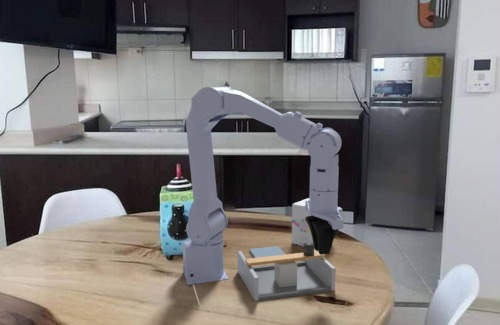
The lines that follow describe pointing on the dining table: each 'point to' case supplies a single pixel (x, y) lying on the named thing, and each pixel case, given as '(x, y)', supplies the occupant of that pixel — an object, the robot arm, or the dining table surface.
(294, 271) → the block
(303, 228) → the ink box
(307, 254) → the bar
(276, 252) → the pad
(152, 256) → the dining table surface
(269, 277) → the case
